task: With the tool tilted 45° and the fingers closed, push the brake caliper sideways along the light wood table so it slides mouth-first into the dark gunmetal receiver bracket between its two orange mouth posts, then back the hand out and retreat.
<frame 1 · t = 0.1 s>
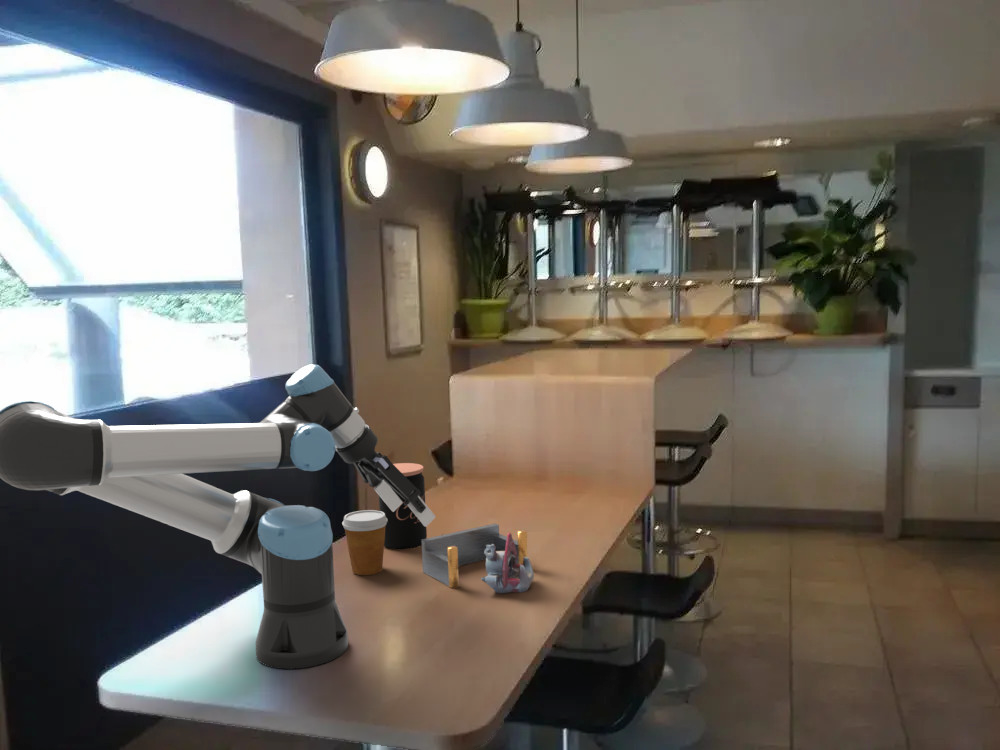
hand: (413, 514, 172), 15 cm above the counter, tool tilted 35°, fingers open, 13 cm apart
receiver bracket: (476, 570, 184), on the counter
coffee jar: (404, 544, 204), on the counter
brake caliper: (508, 587, 174), on the counter
disposable coffee cup: (367, 571, 186), on the counter
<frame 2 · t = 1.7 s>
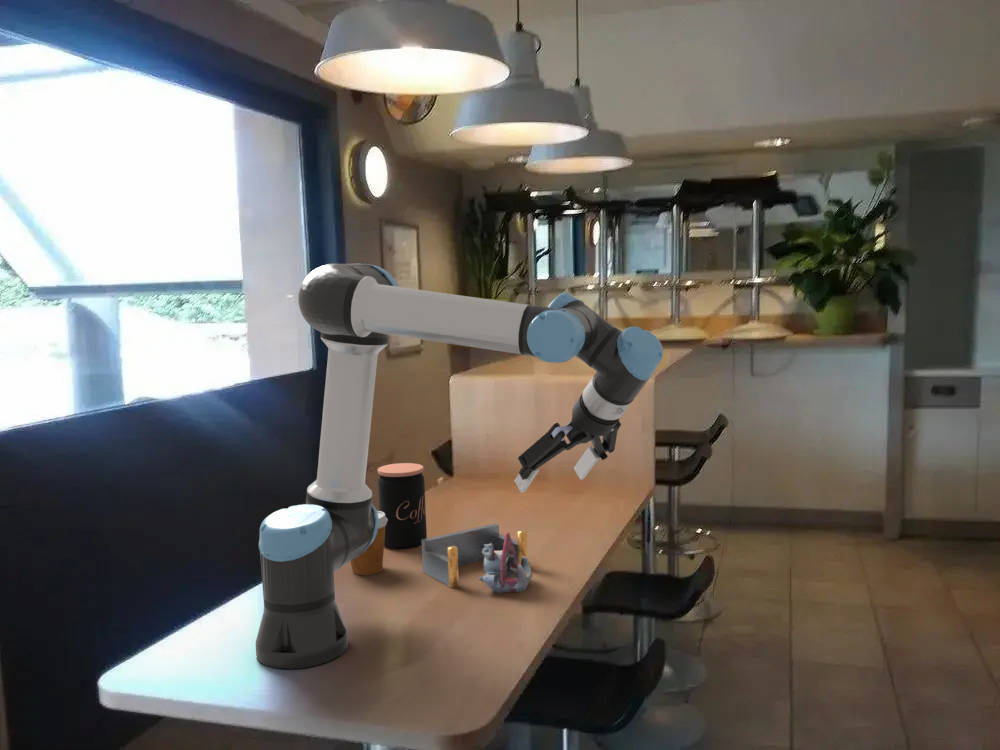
hand: (549, 480, 159), 24 cm above the counter, tool tilted 45°, fingers open, 13 cm apart
nothing on the counter moved.
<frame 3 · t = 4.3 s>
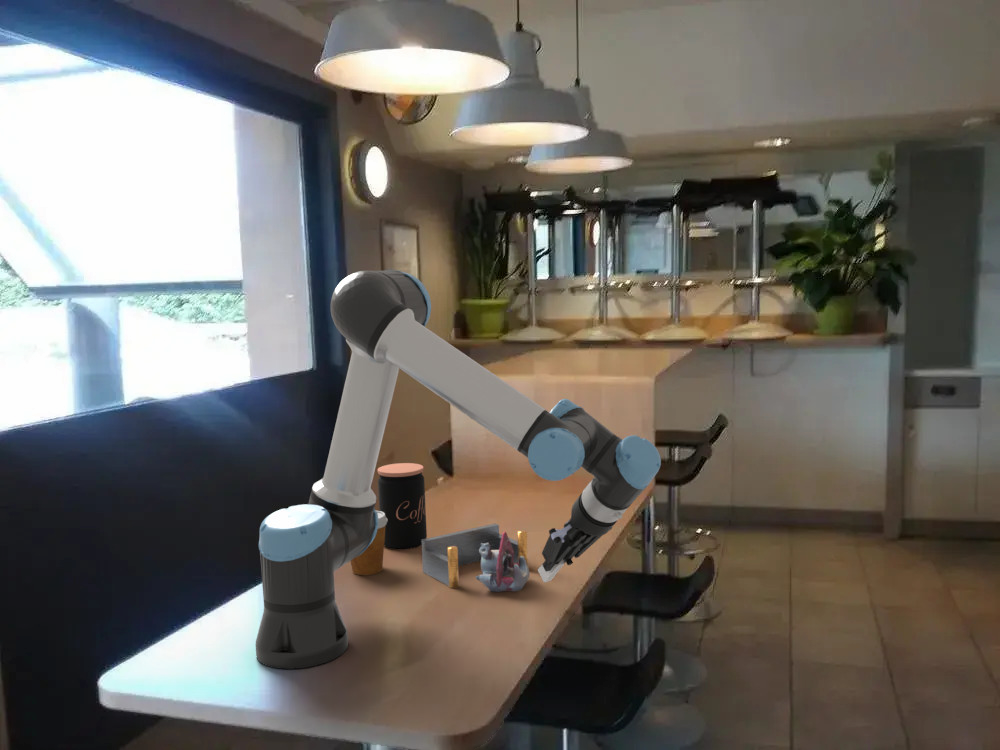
hand: (544, 575, 163), 6 cm above the counter, tool tilted 45°, fingers closed
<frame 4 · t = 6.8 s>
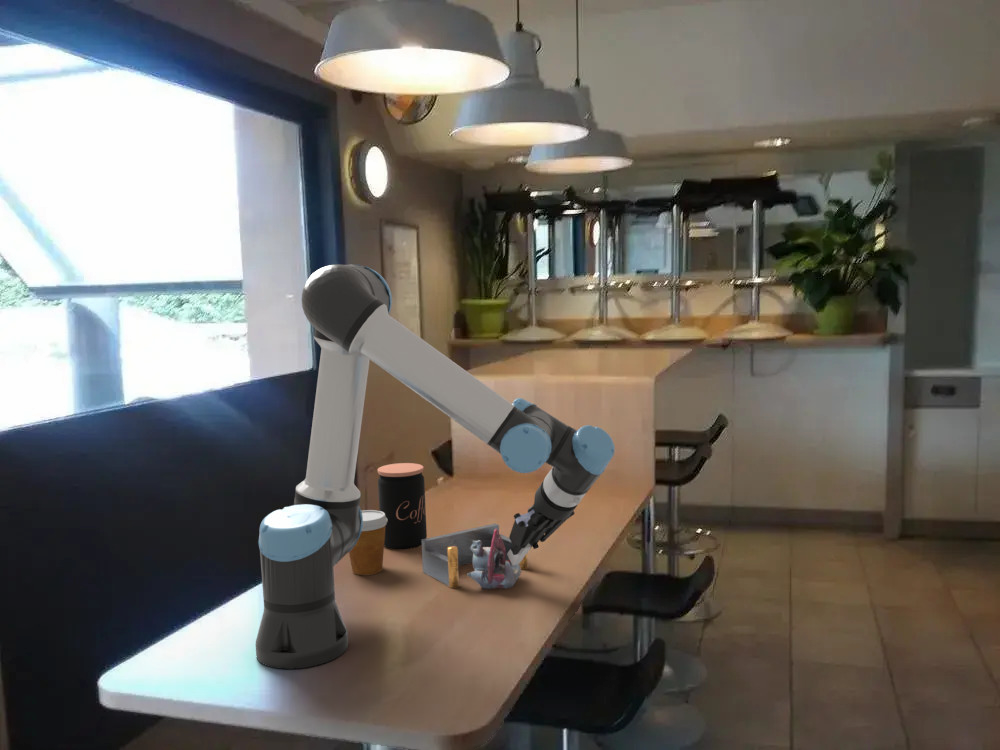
hand: (512, 559, 173), 6 cm above the counter, tool tilted 45°, fingers closed
brake caliper: (495, 583, 176), on the counter, touching gripper
everything else where it was.
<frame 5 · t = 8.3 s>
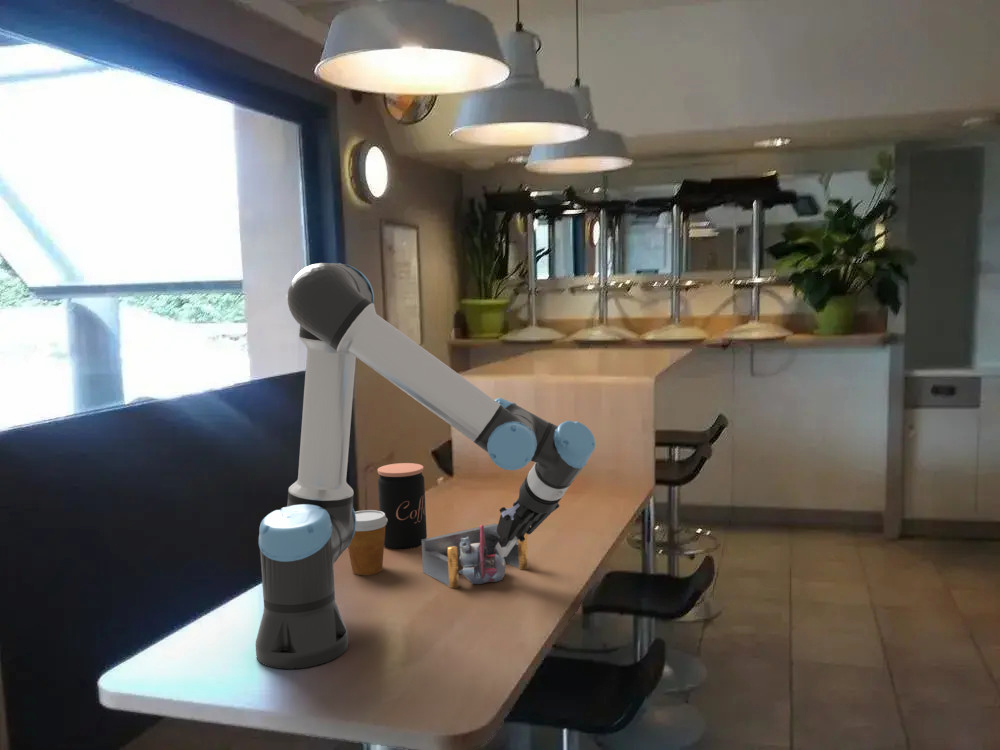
hand: (500, 551, 177), 6 cm above the counter, tool tilted 45°, fingers closed
brake caliper: (482, 578, 179), on the counter, touching gripper, receiver bracket
everything else where it was.
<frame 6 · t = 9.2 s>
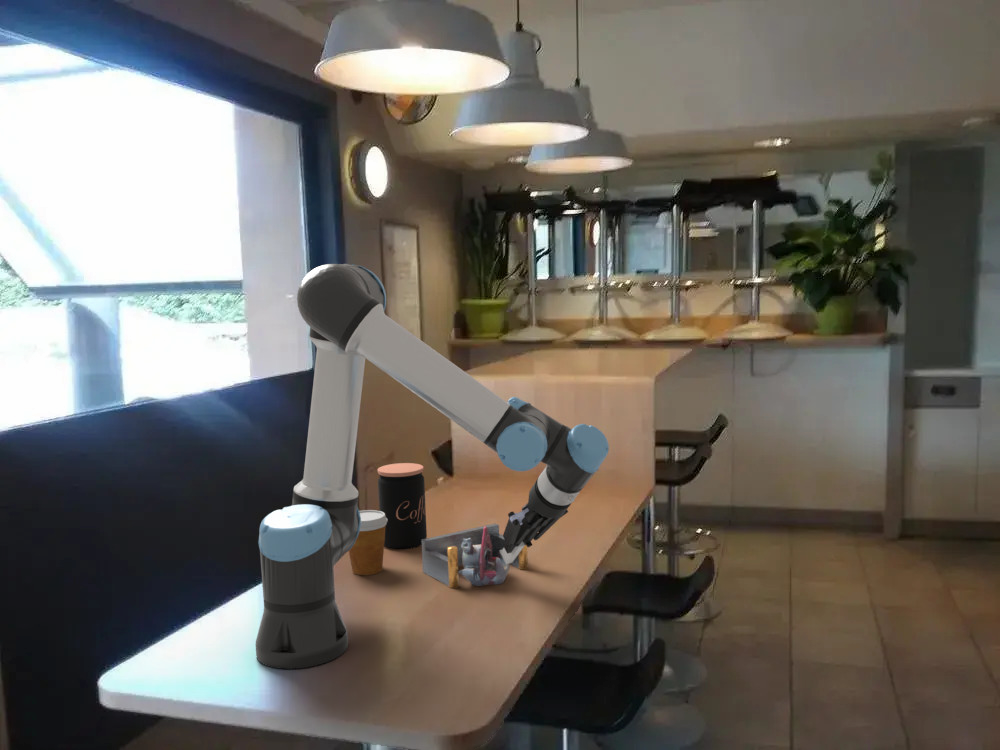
hand: (506, 557, 174), 6 cm above the counter, tool tilted 45°, fingers closed
brake caliper: (484, 580, 178), on the counter
everything else where it was.
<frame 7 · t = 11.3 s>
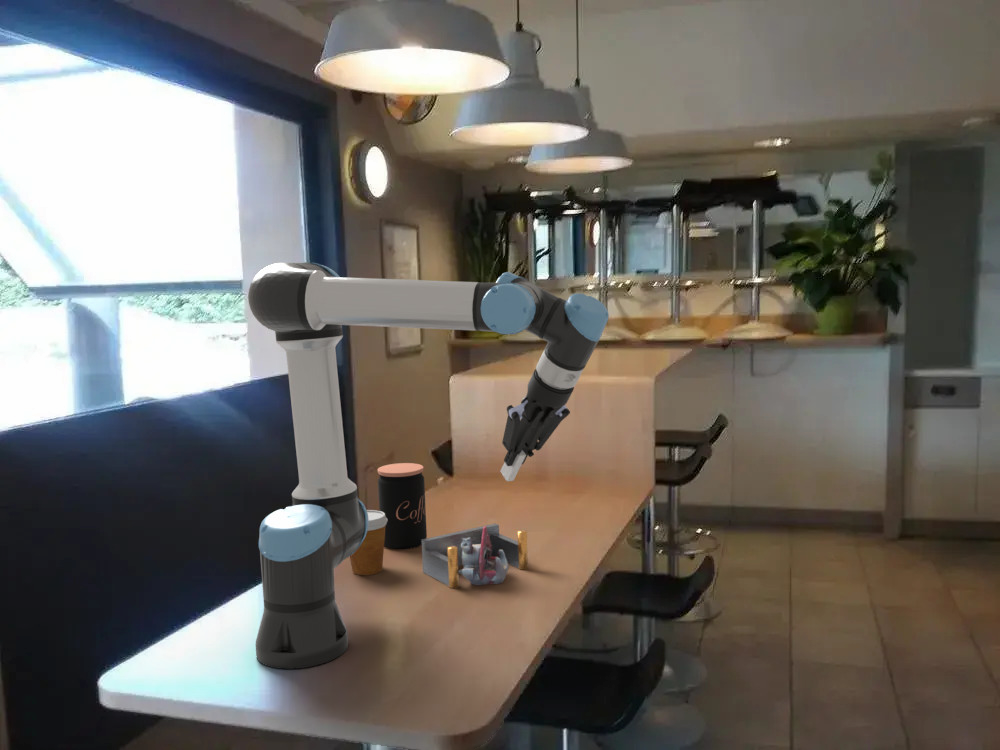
hand: (506, 475, 163), 24 cm above the counter, tool tilted 35°, fingers closed
brake caliper: (484, 580, 179), on the counter, touching receiver bracket
everything else where it was.
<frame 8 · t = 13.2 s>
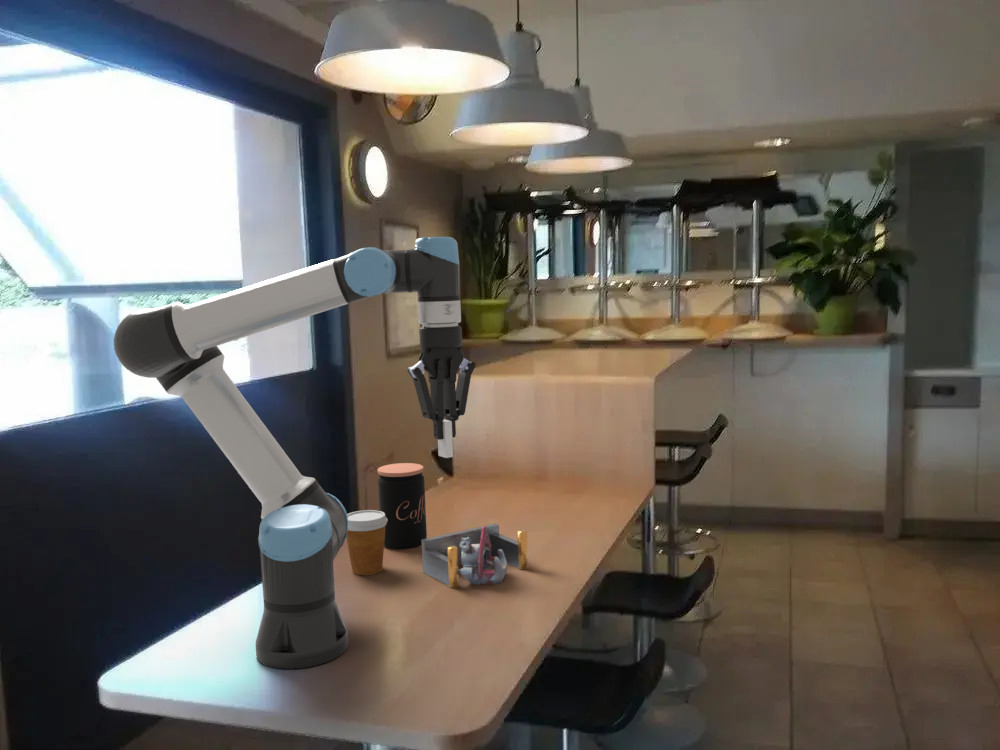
hand: (445, 456, 157), 29 cm above the counter, tool pointing down, fingers closed
brake caliper: (483, 579, 179), on the counter
everything else where it was.
at the end: brake caliper inside the target area (4.0 cm from its centre), on the counter; brake caliper tilted 1°; brake caliper moved 7.4 cm from its start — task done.
